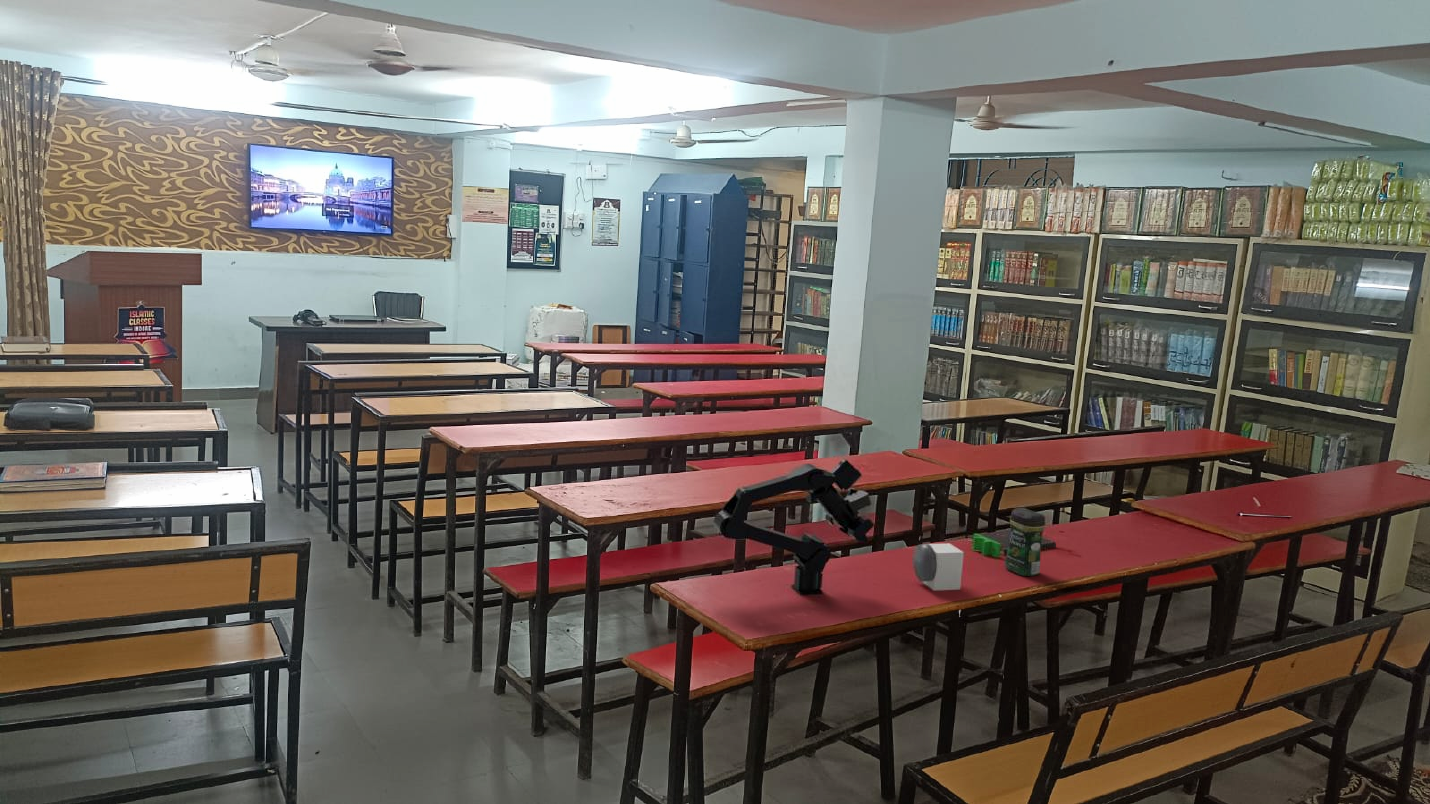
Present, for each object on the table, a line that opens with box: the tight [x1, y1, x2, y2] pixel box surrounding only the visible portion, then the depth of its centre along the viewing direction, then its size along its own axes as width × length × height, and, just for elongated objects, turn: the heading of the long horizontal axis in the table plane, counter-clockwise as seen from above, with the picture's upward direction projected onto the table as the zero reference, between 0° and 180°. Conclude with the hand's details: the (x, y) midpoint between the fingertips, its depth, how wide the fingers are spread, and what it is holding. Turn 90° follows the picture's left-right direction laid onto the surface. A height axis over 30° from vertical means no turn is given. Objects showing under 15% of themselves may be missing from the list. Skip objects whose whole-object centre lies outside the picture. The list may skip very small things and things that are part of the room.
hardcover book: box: [966, 529, 1057, 556], centre depth 313 cm, size 16×23×2 cm
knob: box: [912, 543, 937, 582], centre depth 269 cm, size 7×10×10 cm
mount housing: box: [921, 543, 965, 591], centre depth 270 cm, size 8×8×10 cm
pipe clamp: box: [972, 533, 1001, 558], centre depth 303 cm, size 11×4×5 cm, turn 26°
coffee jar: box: [1004, 507, 1046, 577], centre depth 285 cm, size 10×8×19 cm
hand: (866, 542), depth 263 cm, fingers closed
